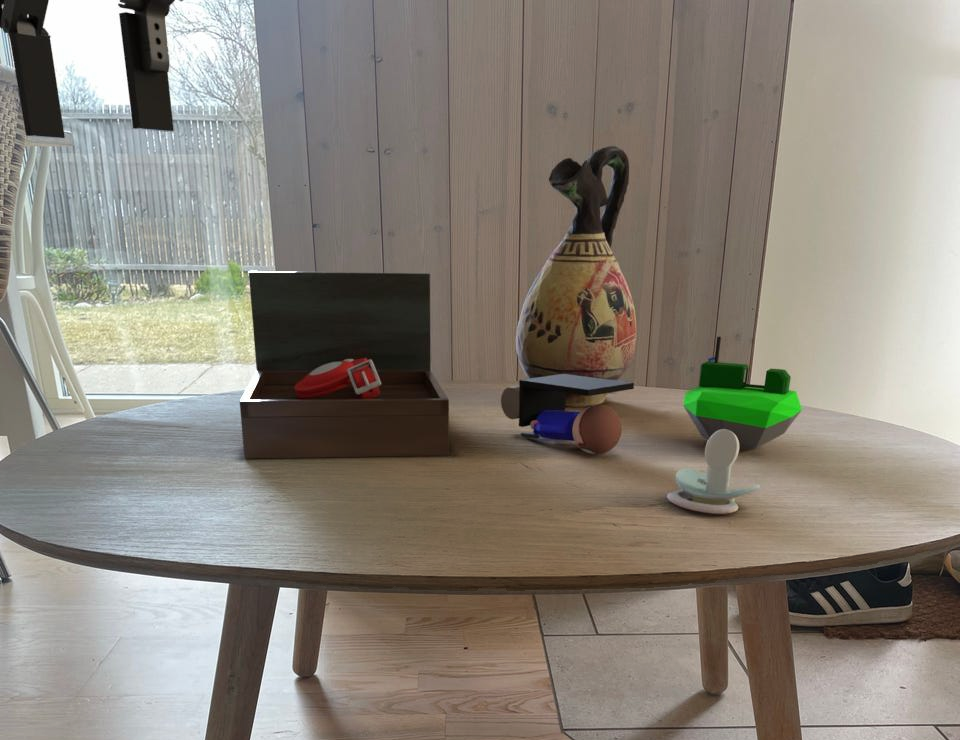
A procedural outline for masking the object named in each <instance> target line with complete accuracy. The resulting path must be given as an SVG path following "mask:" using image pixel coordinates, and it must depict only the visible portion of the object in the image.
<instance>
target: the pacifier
mask: <svg viewBox="0 0 960 740" xmlns="http://www.w3.org/2000/svg"><path fill="white" fill-rule="evenodd" d="M739 453H740V451H739V441H738V438H737V437H736V435H735V434H734V433H733V432H732V431H730V430H727V429H721V430H718V431H716V432H715V433H714V434H712V436H711V437H710V438H709V440H707V442H706V445H705V448H704V458H705V462H706V464H707V471H706V474H705V473H704V472H702V471H699V470H696V469H693V468H688V467H684V468H680V469H679V470H677V472H676V474H675V482H676V485H677V486H678V487H679V488H680V489H681V490H676V491H674V490H673V491H672V492H669V493H668V494H667V499H668V500H669V502H671V503H672V504H674V505H676V506H678V507H681V508H683V509H687V510H690V511H695V512H700V513H707V514H717V515H718V514H719V515H721V514H723V515H724V514H732V513H735V512H736V511H738V510H739V505H738V504H737V502H735V501H736V499H737V498H740V497H741V498H742V497H744V496H747V495H750V494H752V493H755V492H756V491H758V490H760V486H761V485H760V484H757V485H753V486H750V487H746V488H737V489H729V485H730V478H731V471H732V470H731V469H732V465H733V464H734V463H735V461H736V460H737V458H738V455H739ZM699 482H700V483H699ZM701 483H702V484H701ZM689 499H692V500H689Z"/></svg>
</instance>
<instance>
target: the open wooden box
mask: <svg viewBox="0 0 960 740" xmlns="http://www.w3.org/2000/svg"><path fill="white" fill-rule="evenodd" d="M248 282H249V293H250V305H251V319H252V331H253V343H254V354H255V355H254V356H255V368H256V371H255V373H254V375H253V376H252V377H251V380H250V382H249V384H248V386H247V387H246V389H245V391H244V393H243V395H242V396H241V398H240V401H239V411H240V422H241V432H242V434H241V435H242V444H243V455H244V457H243V458H244V459H245V460H246V459H249V460H250V459H312V458H314V459H315V458H374V457H375V458H376V457H377V458H379V457H381V458H382V457H383V458H384V457H435V456H436V457H437V456H438V457H439V456H440V457H441V456H442V457H443V456H444V457H445V456H446V457H447V456H449V455H450V434H449V433H450V432H449V431H450V400H449V398H448V397H447V394H446V393H445V392H444V390H443V388H442V387H441V384H440V382H439V381H438V380H437V378H436V376H435V375H434V373H433V372H432V370H431V368H432V366H431V365H432V364H431V361H432V360H431V358H432V357H431V356H432V355H431V348H432V347H431V346H432V345H431V273H429V272H367V271H366V272H365V271H364V272H363V271H362V272H361V271H359V272H358V271H357V272H355V271H354V272H353V271H338V272H337V271H274V270H273V271H271V270H270V271H266V270H265V271H264V270H263V271H261V270H259V271H258V270H250V271H248ZM362 358H366V359H367V360H369V359H371V360H372V361H373V364H374V366H375V369H376V371H377V374H378V376H379V379H380V381H381V385H380V386H378V388H379V391H380V395H379V396H377V397H374V398H372V399H361V394H359V395H357V394H356V393H355V390H354V388H353V385H352V384H350V385H348V386H346V387H344V388H341V389H339V390H337V391H334V392H331V393H328V394H325V395H321V396H317V397H312V398H299V397H298V396H297V395H296V391H295V389H294V388H295V385H296V384H297V383H298V382H299V381H301V380H302V379H304V378H305V377H306V375H307V374H308V373H309V372H311V371H312V370H314V369H315V368H317V367H320V366H322V365H324V364H327V363H330V362H334V361H343V360H345V359H353V360H357V359H362ZM368 366H369V367H370V368H371V365H368ZM371 370H372V368H371ZM372 372H373V370H372ZM373 374H374V373H373ZM374 376H375V375H374ZM357 389H358V388H357Z"/></svg>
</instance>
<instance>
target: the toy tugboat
mask: <svg viewBox="0 0 960 740" xmlns="http://www.w3.org/2000/svg"><path fill="white" fill-rule="evenodd" d="M721 342H722V336H716V345H715V351H714V352H715V353H714V356H712V357H708V359H707V361H705V362H703V363H702V364H701V365H700V372H699V380H698V386H697V387H694V388H692V389H690V390H688V391H686V392H685V393H684V399H683V406H682V407H684V409H685V411H686V413H687V414H688V416H689V418H690V419H691V421H692V423H693V424H694V426H695V428H696V429H697V432H698V433H699V434H700V436H701V437H703V438H704V439H705V440H706V441H708V440H709V438H710V437H711V436H712V434H714V433H715V432H716V431H718V430H721V429H727V430H730V431H732V432H733V433H734V434H735V435H736V437H737V438H738V441H739V452H742V453H744V452H748V451H752V450H755V449H758V448H760V447H762V446H763V445H765V444H767V443H769V442H771V441H774V440H776V439H777V438H779V437H781V436H783V435H784V434H785V433H787V431H788V429H789V428H790V426H791V425H792V424H794V423H793V422H794V421H795V420H796V419H797V417H798V416H799V415H800V414H801V412H802V411H803V407H802V404H801V402H800V399H799V395H798V393H797V391H796V390H790V384H791V379H792V377H791V376H790V374H789V373H788V371H787V370H786V369H781V368H770V369H768V370H766V371H765V378H764V379H765V380H764V385H763V384H762V385H761V384H752V383H751V384H750V383H747V382H748V377H749V376H748V375H749V368H750V367H749V365H748V364H745V363H735V362H723V361H720V362H719V358H720V348H721Z"/></svg>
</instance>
